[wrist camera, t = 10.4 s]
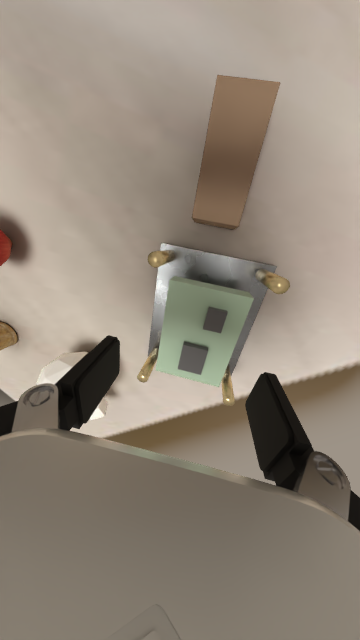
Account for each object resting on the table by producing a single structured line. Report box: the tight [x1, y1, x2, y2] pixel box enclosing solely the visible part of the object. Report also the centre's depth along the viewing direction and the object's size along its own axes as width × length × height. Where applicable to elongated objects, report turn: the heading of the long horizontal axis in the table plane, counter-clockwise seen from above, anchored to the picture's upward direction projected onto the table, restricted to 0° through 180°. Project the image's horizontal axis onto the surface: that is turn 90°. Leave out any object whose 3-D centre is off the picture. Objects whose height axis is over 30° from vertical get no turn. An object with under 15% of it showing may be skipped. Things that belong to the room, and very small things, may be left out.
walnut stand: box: [192, 75, 280, 229], centre depth 14 cm, size 8×4×3 cm, turn 170°
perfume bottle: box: [36, 352, 108, 420], centre depth 24 cm, size 9×9×12 cm
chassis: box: [137, 243, 290, 406], centre depth 18 cm, size 15×12×6 cm
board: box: [156, 276, 254, 387], centre depth 16 cm, size 10×7×3 cm
